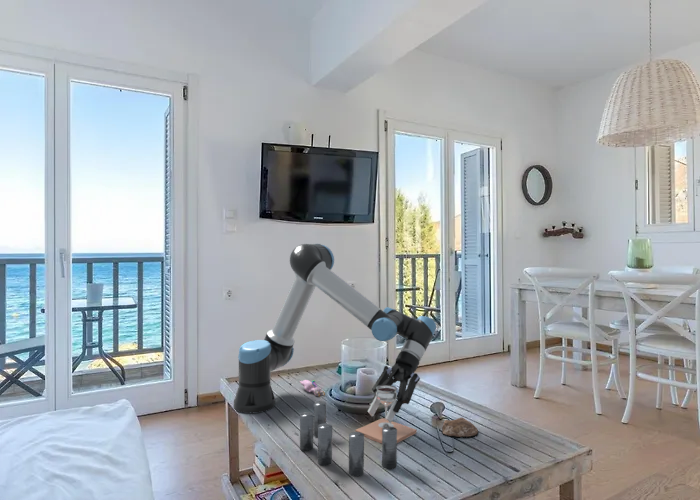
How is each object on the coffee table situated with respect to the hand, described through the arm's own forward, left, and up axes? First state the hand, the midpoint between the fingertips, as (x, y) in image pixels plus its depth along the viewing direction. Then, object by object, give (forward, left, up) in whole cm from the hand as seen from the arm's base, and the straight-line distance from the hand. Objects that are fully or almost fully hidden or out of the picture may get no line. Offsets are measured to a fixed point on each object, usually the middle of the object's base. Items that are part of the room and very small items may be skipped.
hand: (379, 417), depth 140 cm
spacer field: (0, -18, -6) cm, 19 cm away
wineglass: (0, +4, -4) cm, 5 cm away
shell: (+16, +22, -7) cm, 28 cm away
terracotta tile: (0, +4, -6) cm, 7 cm away
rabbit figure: (-47, +13, -6) cm, 49 cm away
